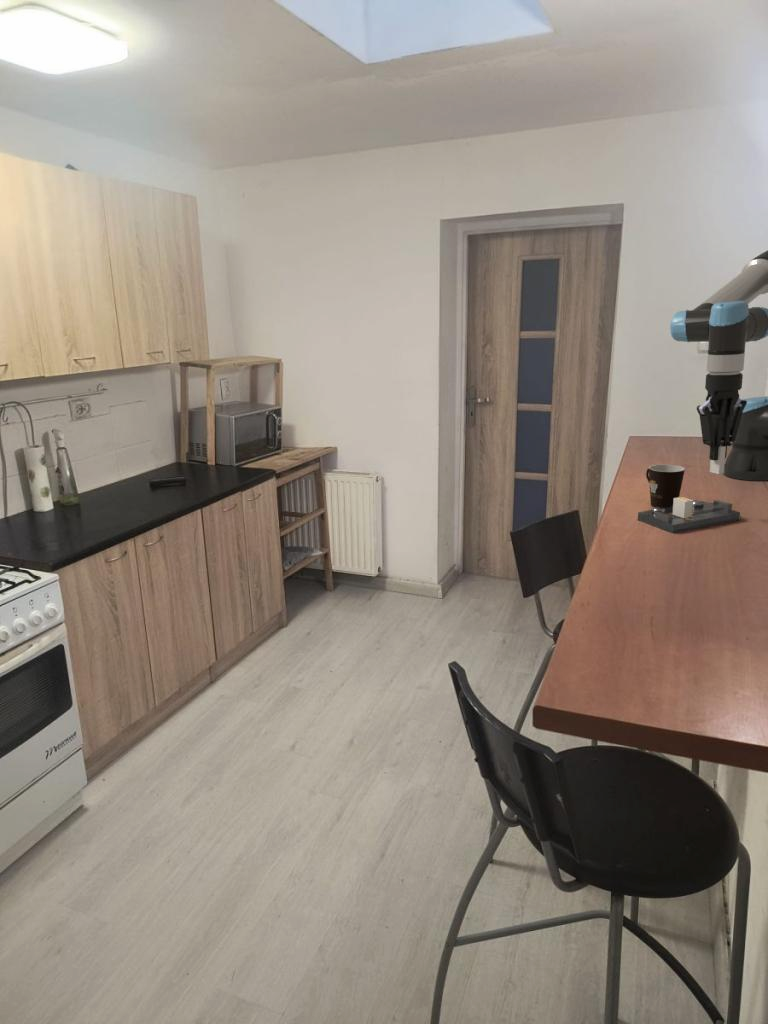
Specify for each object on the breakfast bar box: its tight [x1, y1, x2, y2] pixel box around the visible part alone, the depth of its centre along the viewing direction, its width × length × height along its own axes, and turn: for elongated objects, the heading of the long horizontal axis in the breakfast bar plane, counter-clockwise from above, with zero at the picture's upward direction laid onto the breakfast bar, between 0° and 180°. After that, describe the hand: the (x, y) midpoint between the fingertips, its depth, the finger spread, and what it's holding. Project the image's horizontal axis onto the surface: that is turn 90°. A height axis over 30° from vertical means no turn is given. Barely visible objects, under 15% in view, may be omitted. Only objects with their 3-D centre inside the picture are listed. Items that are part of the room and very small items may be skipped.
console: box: [637, 499, 741, 534], centre depth 161 cm, size 20×12×4 cm, turn 110°
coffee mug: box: [645, 463, 686, 508], centre depth 174 cm, size 12×9×10 cm
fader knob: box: [673, 496, 693, 518], centre depth 158 cm, size 2×4×4 cm, turn 20°
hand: (716, 472), depth 159 cm, fingers closed
